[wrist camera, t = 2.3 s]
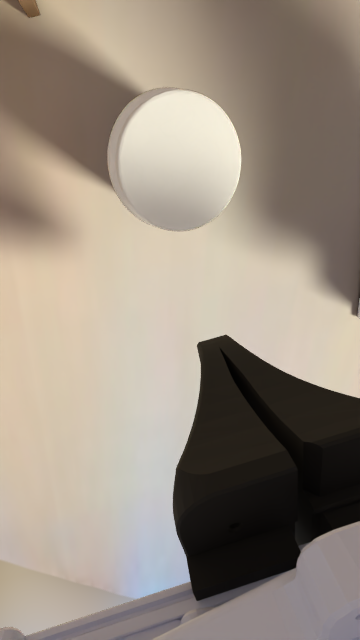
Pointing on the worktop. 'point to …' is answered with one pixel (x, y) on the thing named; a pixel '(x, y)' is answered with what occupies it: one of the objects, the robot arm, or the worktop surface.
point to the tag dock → (30, 7)
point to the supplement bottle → (174, 158)
